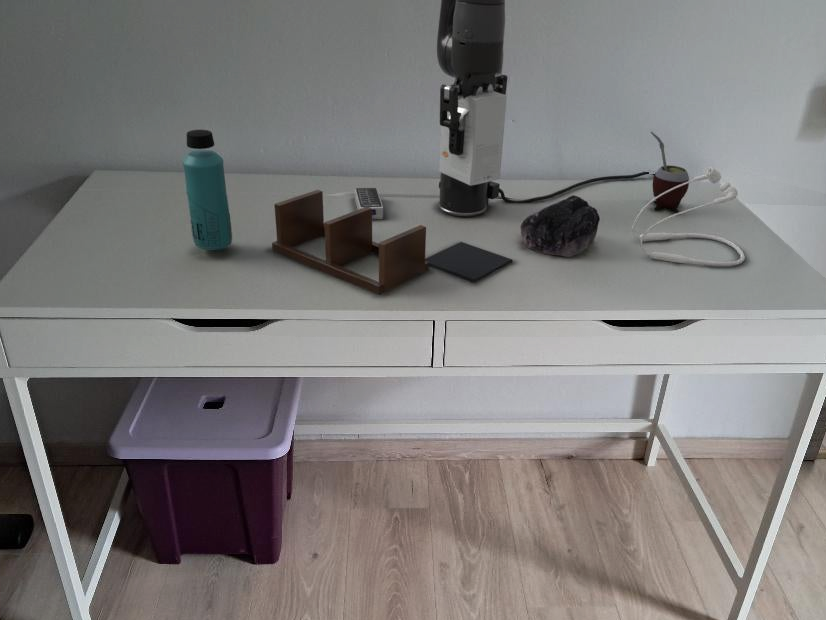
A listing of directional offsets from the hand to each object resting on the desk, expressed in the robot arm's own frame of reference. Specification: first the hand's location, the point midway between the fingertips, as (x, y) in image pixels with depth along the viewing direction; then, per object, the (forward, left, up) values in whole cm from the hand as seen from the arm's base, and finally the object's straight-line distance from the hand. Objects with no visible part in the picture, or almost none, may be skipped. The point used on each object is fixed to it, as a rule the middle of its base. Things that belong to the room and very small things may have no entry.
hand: (470, 148), depth 124 cm
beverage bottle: (+26, -33, -20) cm, 46 cm away
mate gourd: (-50, +14, -20) cm, 56 cm away
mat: (0, +1, -19) cm, 19 cm away
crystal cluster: (-18, +8, -20) cm, 28 cm away
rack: (+13, -14, -19) cm, 27 cm away
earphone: (-32, +27, -20) cm, 46 cm away
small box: (0, 0, -5) cm, 5 cm away
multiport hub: (-7, -28, -20) cm, 35 cm away
